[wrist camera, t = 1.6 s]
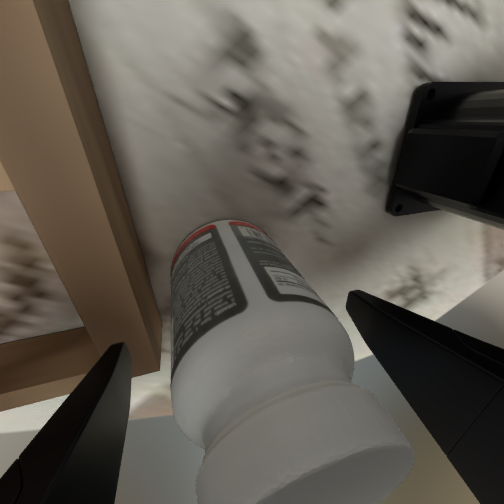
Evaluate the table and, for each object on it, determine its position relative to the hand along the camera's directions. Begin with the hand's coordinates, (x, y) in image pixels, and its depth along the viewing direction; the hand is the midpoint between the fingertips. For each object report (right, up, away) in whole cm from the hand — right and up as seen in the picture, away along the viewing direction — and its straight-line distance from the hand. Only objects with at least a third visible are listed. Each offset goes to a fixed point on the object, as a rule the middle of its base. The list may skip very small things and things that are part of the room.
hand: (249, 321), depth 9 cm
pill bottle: (-1, +2, +4) cm, 5 cm away
